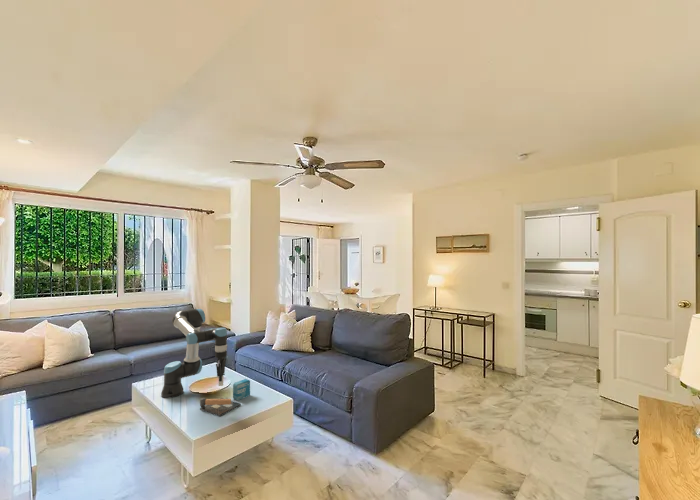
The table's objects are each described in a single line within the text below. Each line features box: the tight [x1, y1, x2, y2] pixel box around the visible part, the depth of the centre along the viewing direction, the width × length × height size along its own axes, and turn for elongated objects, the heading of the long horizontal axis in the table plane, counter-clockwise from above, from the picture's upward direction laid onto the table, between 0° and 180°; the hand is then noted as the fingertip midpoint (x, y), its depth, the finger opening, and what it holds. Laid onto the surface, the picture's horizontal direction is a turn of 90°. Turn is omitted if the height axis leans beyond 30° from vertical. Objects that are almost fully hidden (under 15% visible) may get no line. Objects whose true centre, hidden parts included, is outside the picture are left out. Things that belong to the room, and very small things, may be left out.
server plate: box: [199, 397, 242, 417], centre depth 229 cm, size 20×18×3 cm
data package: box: [232, 378, 251, 401], centre depth 245 cm, size 12×4×12 cm, turn 143°
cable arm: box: [199, 397, 232, 407], centre depth 227 cm, size 21×4×4 cm, turn 91°
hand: (220, 385), depth 224 cm, fingers closed
